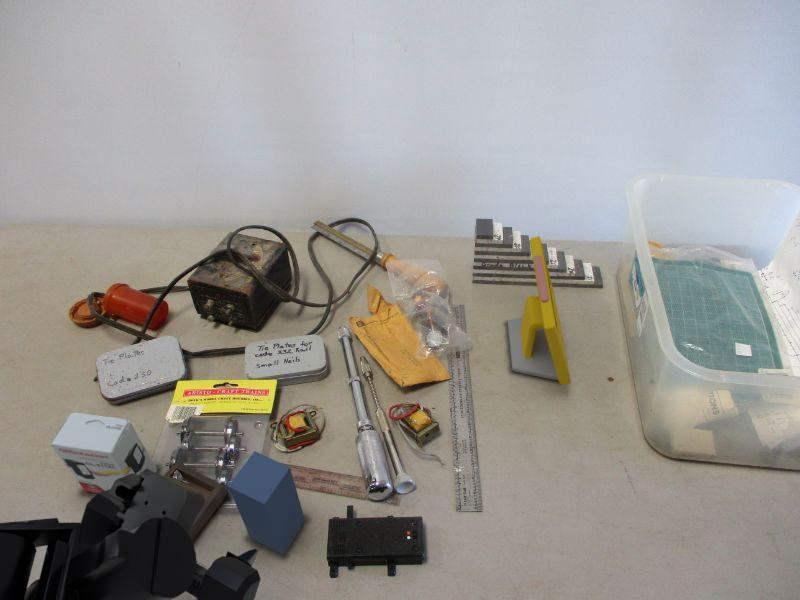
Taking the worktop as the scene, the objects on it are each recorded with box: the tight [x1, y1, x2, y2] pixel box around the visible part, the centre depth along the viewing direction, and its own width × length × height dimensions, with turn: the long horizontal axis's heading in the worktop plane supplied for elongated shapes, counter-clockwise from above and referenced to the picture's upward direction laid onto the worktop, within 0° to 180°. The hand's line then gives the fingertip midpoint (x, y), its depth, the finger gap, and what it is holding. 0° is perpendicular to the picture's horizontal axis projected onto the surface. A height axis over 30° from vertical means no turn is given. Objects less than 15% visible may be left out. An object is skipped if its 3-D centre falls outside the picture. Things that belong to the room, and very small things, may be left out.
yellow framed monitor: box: [507, 236, 572, 386], centre depth 91 cm, size 20×8×16 cm, turn 176°
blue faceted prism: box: [227, 450, 306, 556], centre depth 71 cm, size 5×5×13 cm
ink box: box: [49, 411, 158, 494], centre depth 77 cm, size 9×5×12 cm, turn 80°
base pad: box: [163, 461, 228, 543], centre depth 76 cm, size 8×8×3 cm
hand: (220, 534), depth 62 cm, fingers open, 9 cm apart
